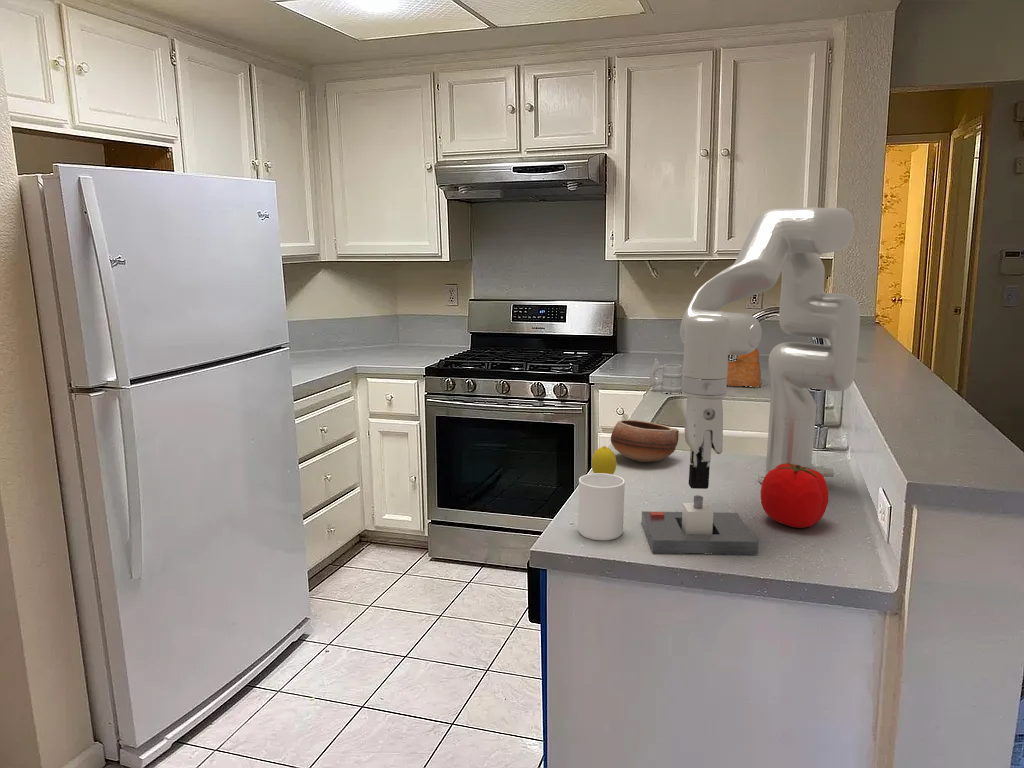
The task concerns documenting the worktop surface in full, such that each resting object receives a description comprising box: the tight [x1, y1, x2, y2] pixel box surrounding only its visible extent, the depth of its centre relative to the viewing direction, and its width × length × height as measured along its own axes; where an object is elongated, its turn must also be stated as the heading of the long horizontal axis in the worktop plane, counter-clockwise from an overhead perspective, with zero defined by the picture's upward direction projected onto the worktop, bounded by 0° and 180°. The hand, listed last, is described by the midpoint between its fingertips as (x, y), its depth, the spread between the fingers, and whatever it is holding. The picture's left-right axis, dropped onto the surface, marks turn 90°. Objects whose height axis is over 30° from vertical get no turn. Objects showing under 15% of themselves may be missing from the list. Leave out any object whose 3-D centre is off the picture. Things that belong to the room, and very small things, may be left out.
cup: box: [577, 472, 626, 541], centre depth 140 cm, size 8×12×10 cm
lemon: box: [591, 445, 617, 475], centre depth 169 cm, size 6×6×8 cm
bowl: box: [610, 419, 680, 463], centre depth 184 cm, size 16×16×10 cm
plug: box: [681, 494, 714, 534], centre depth 136 cm, size 4×4×8 cm
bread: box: [727, 347, 762, 388], centre depth 284 cm, size 14×27×15 cm, turn 72°
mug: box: [649, 358, 683, 394], centre depth 267 cm, size 8×12×12 cm, turn 78°
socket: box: [641, 511, 759, 555], centre depth 136 cm, size 18×14×3 cm
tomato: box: [760, 462, 829, 529], centre depth 144 cm, size 12×13×12 cm
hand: (698, 486), depth 134 cm, fingers closed
